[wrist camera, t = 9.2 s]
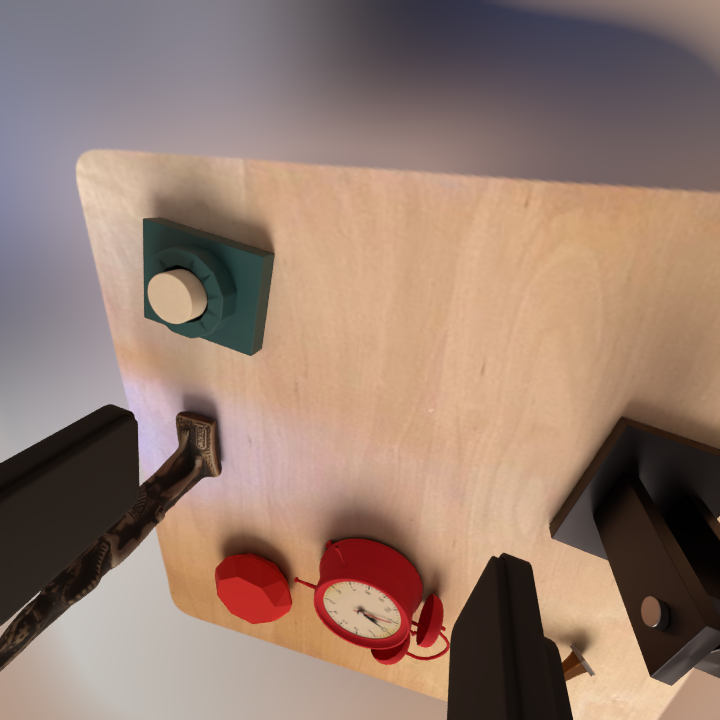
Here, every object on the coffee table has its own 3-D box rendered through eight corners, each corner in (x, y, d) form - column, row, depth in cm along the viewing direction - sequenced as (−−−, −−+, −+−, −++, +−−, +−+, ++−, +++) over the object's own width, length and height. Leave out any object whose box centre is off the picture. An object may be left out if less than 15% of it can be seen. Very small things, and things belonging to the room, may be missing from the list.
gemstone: (235, 597, 46) (220, 622, 44) (216, 541, 43) (199, 563, 41) (302, 611, 44) (291, 638, 41) (287, 552, 41) (274, 577, 38)
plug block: (159, 217, 30) (122, 219, 27) (275, 253, 28) (249, 260, 25) (159, 312, 33) (126, 323, 30) (261, 349, 32) (238, 365, 29)
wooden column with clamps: (488, 666, 37) (509, 715, 33) (556, 619, 37) (586, 663, 33) (498, 678, 38) (520, 729, 33) (566, 632, 37) (597, 677, 33)
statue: (221, 415, 36) (-30, 626, 18) (227, 475, 39) (16, 708, 21) (183, 406, 37) (-90, 599, 19) (192, 466, 40) (-39, 681, 22)
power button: (165, 262, 28) (146, 266, 26) (209, 277, 27) (192, 281, 26) (164, 309, 29) (147, 315, 28) (206, 323, 29) (190, 330, 27)
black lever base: (621, 416, 26) (718, 563, 15) (750, 459, 25) (949, 650, 14) (548, 526, 31) (584, 696, 20) (653, 567, 30) (749, 770, 19)
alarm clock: (340, 541, 33) (468, 692, 30) (370, 501, 38) (481, 626, 36) (279, 589, 37) (386, 723, 35) (314, 548, 43) (408, 661, 40)
